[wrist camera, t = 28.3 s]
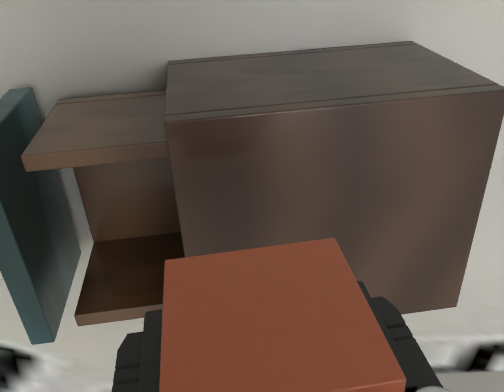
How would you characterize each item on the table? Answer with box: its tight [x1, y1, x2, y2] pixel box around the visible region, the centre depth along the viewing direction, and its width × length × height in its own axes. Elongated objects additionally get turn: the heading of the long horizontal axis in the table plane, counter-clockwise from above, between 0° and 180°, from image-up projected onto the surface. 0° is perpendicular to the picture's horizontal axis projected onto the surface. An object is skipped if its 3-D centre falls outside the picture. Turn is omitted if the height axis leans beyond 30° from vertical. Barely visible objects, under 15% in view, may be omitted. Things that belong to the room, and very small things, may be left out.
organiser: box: [164, 41, 504, 314], centre depth 26 cm, size 15×13×10 cm
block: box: [159, 238, 406, 392], centre depth 11 cm, size 5×5×5 cm
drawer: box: [0, 88, 185, 345], centre depth 25 cm, size 18×11×8 cm, turn 93°
